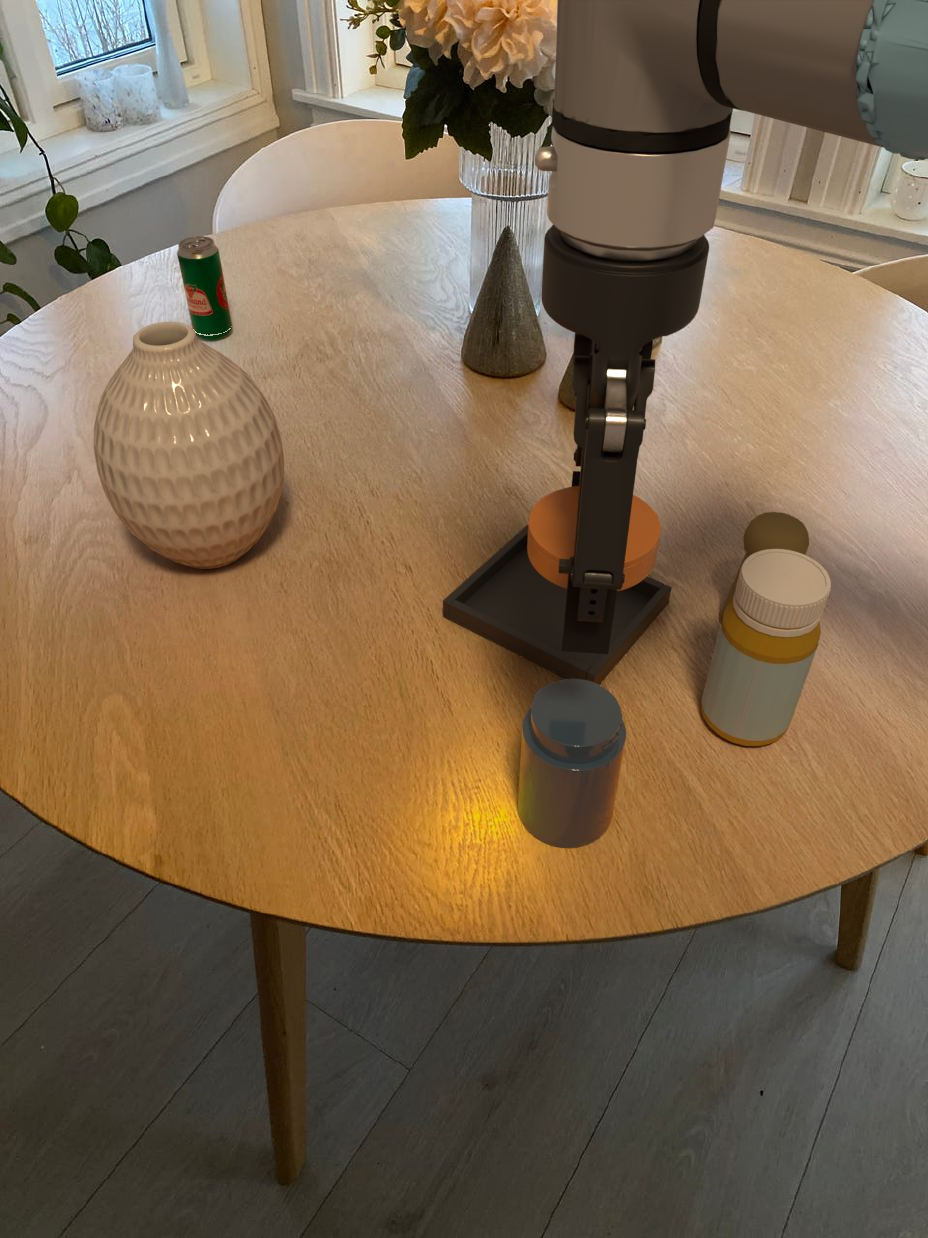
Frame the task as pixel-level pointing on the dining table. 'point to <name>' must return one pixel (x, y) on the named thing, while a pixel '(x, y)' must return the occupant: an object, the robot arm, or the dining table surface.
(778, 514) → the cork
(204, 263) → the soda can
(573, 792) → the jar
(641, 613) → the tray
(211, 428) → the vase
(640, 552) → the lid
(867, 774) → the dining table surface
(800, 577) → the bottle
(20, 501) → the dining table surface
